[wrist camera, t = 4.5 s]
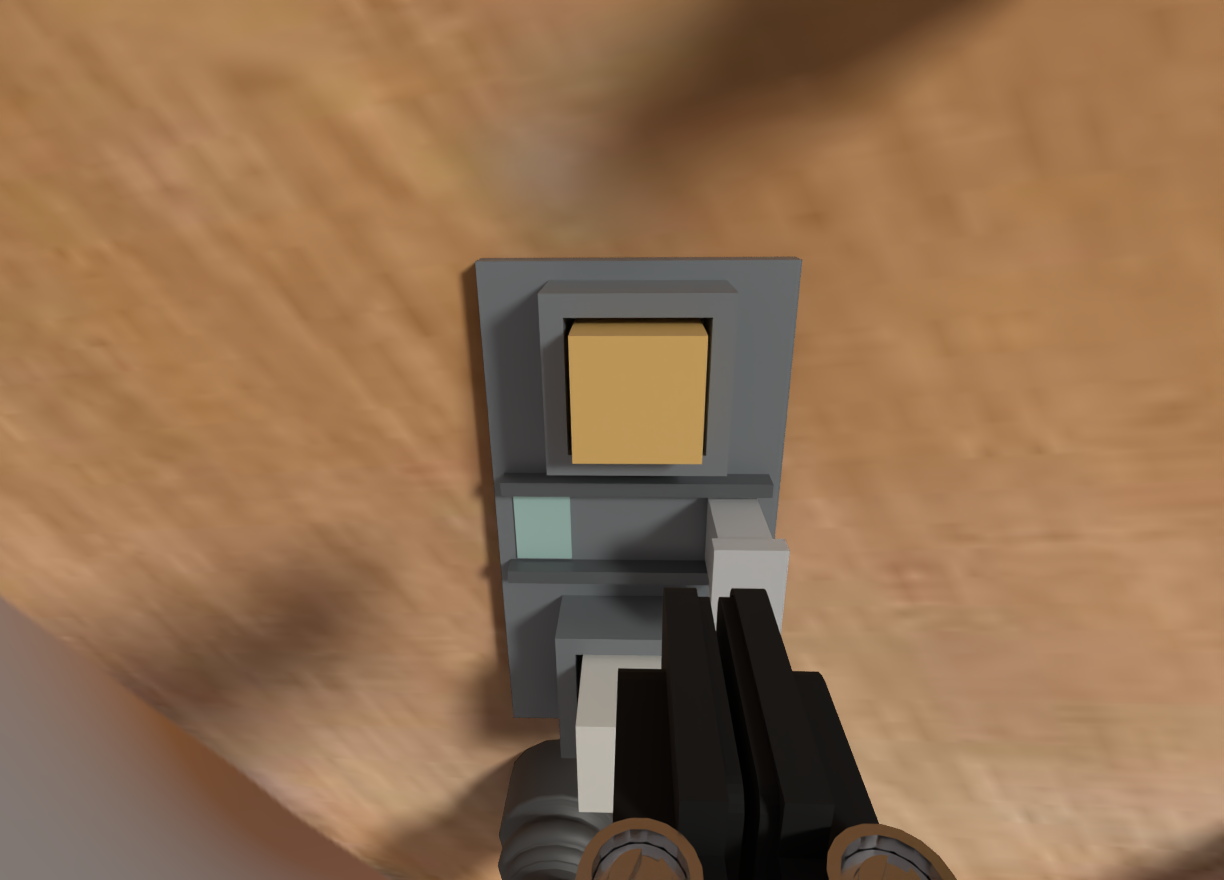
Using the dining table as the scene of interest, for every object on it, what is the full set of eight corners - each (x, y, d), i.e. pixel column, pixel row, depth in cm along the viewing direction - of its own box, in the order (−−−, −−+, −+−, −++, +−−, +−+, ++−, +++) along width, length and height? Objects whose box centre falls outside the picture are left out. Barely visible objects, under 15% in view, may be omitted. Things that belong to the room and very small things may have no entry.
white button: (687, 653, 27) (696, 728, 24) (684, 733, 29) (691, 814, 25) (583, 652, 27) (575, 726, 24) (585, 731, 29) (578, 811, 25)
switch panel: (795, 256, 24) (824, 270, 21) (753, 706, 33) (768, 773, 29) (481, 258, 25) (454, 272, 21) (516, 702, 33) (502, 768, 29)
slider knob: (764, 490, 27) (789, 550, 22) (757, 564, 28) (780, 635, 24) (700, 489, 27) (714, 550, 22) (697, 564, 28) (709, 634, 24)
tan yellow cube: (696, 311, 24) (708, 335, 20) (692, 423, 26) (702, 464, 22) (578, 311, 24) (568, 335, 20) (581, 422, 26) (572, 463, 22)
